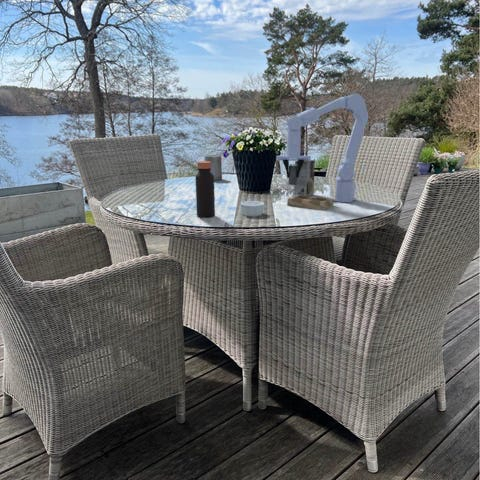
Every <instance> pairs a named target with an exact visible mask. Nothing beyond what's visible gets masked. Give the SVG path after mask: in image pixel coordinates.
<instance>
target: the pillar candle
mask: <svg viewBox="0 0 480 480" xmlns="http://www.w3.org/2000/svg"><path fill="white" fill-rule="evenodd" d="M204 161H209V162H211V169H210V172H211V173H212V174H213V175H214V182H215V181H216V182H217V181H221V180H222V179H223V172H222V171H223V170H222V169H223V168H222V167H223V166H222V164H223V163H222V155H221V154H220V155H219V154H206V155H204Z"/></svg>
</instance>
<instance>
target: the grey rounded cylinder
mask: <svg viewBox="0 0 480 480" xmlns="http://www.w3.org/2000/svg"><path fill="white" fill-rule="evenodd" d="M296 184H297V166H296V164H295V163H291V164H290V163H289V178H288V185H289V186H295V185H296Z"/></svg>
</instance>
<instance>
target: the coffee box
mask: <svg viewBox="0 0 480 480" xmlns="http://www.w3.org/2000/svg"><path fill="white" fill-rule="evenodd" d="M315 163H316V160H315V159H310V161H304V163H303V165H302V167H301V170H300V173H299V178H297V184H296V185H293V186H294V187H293V188H294V190H293V191H294V193H293V194H294V195H293V196H296V195H307V196H314V192H315V165H316V164H315ZM294 164H296V166H297V161H295V163H294Z"/></svg>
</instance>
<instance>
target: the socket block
mask: <svg viewBox="0 0 480 480" xmlns="http://www.w3.org/2000/svg"><path fill="white" fill-rule="evenodd" d="M333 199H334V198H332V197H323V196H315V195H311V196H307V195H296V196H294V195H293V196H291V197H287V203H286V205H287V206H289V207H297V208H304V209H314V210H322V211H324V210H326V209H328V208H331V207H333V206H334V201H333Z"/></svg>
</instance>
